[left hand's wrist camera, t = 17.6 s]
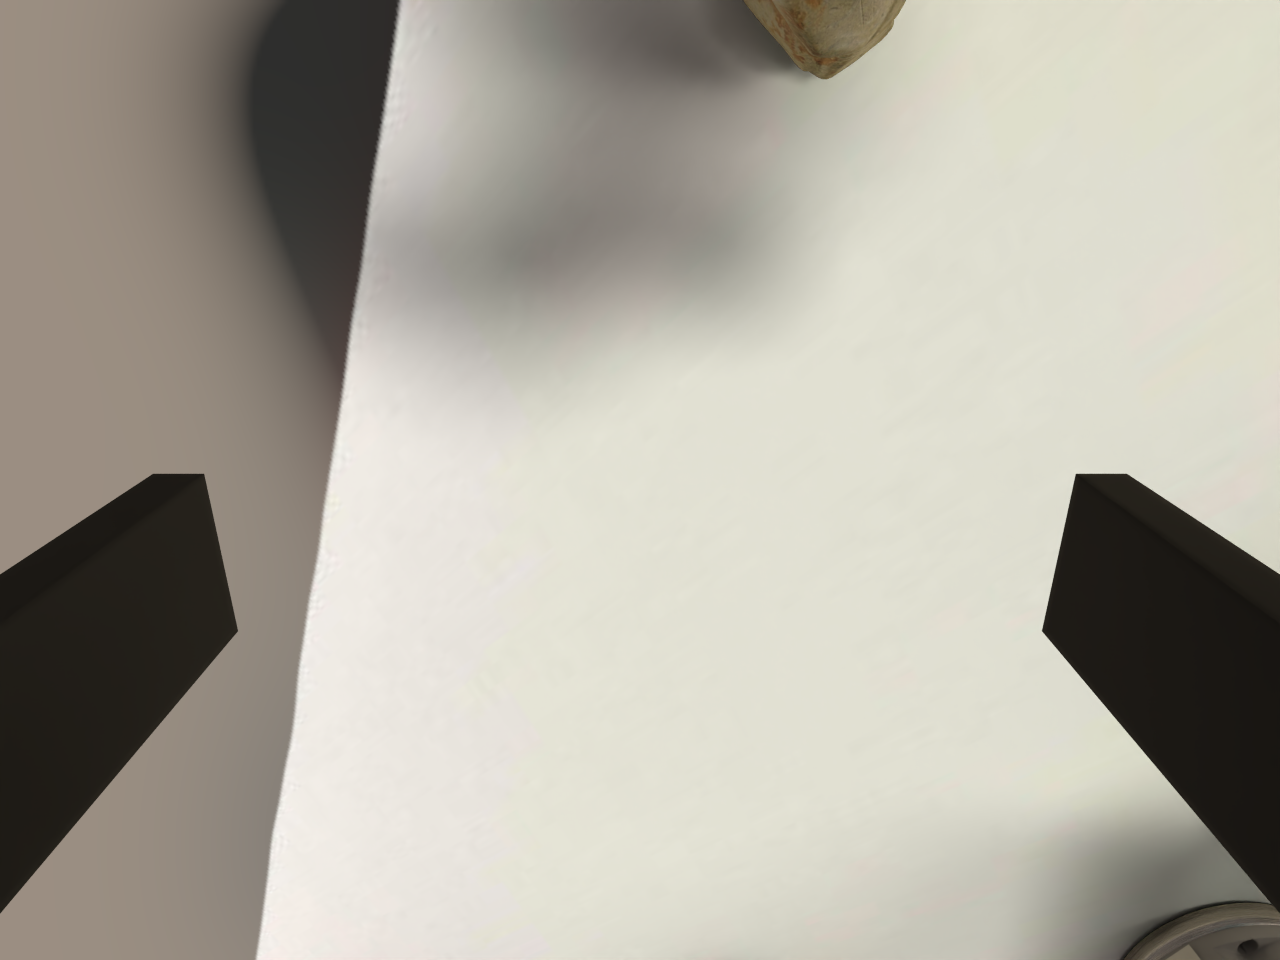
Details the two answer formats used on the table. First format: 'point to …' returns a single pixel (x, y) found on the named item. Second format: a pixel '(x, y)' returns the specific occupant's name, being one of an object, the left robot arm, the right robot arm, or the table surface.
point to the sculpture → (826, 29)
